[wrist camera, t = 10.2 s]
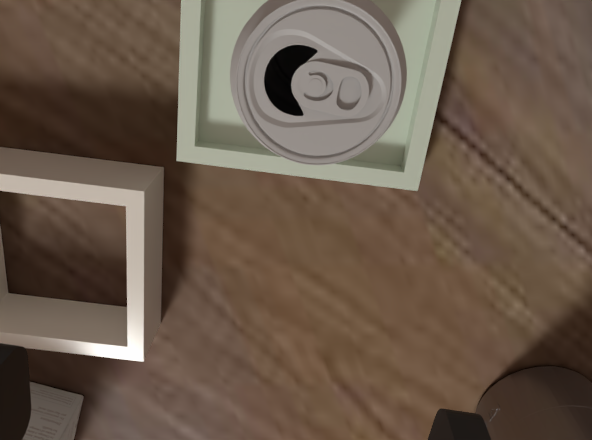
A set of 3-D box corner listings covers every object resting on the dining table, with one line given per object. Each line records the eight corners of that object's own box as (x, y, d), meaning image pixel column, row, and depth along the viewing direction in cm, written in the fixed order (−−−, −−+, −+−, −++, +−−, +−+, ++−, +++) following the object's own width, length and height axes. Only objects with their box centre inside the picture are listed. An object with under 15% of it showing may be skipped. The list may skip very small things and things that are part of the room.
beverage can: (269, -30, 28) (239, -38, 17) (390, -1, 28) (439, 9, 17) (248, 92, 30) (209, 155, 19) (358, 117, 30) (383, 192, 19)
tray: (469, -80, 27) (480, -85, 25) (411, 179, 33) (417, 190, 31) (193, -118, 27) (184, -125, 25) (184, 151, 32) (176, 161, 31)
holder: (164, 167, 33) (144, 191, 29) (160, 323, 38) (143, 361, 34) (-26, 143, 33) (-71, 165, 29) (-5, 303, 37) (-42, 340, 33)
